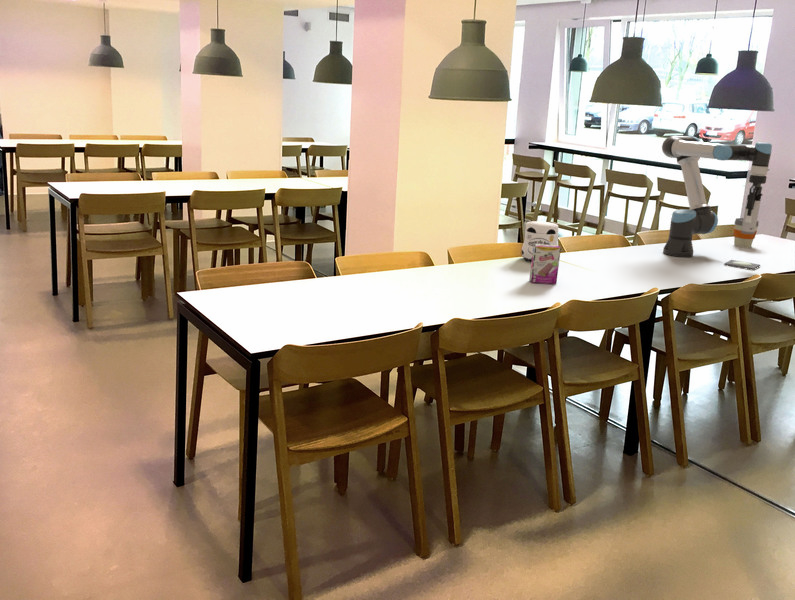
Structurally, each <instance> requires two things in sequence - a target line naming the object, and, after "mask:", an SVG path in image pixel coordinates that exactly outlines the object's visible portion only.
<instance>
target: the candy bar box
mask: <svg viewBox="0 0 795 600" xmlns="http://www.w3.org/2000/svg"><path fill="white" fill-rule="evenodd" d="M561 250H562V249H561V246H560V245H558V244H557V245H544V244H533V252H532V261H530V262H531V264H530V271H529V278H528V280H529V282H530V283H531V284H544V285H546V284H547V285H557V282H558V281H557V280H558V274H559V273H558V272H559V266H560V265H559V264H560V257H561Z"/></svg>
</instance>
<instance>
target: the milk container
mask: <svg viewBox="0 0 795 600" xmlns="http://www.w3.org/2000/svg"><path fill="white" fill-rule="evenodd" d="M558 236H559V225H558V224H557V223H554V222H549V221H539V220H538V221H537V220H534V221H533V220H532V221H527V222H526V224H525V231H524V241H523V243H522V247H521V256H522V258H523V259H524V260H527V261H530V262H531V261H532V252H533V244H544V245H558Z"/></svg>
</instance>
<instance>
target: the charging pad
mask: <svg viewBox="0 0 795 600" xmlns="http://www.w3.org/2000/svg"><path fill="white" fill-rule="evenodd" d="M723 265H724V266H727V265H728V266H729V267H733V266H734V268H738V267H740V268H739V269H744V268H747V269H746V270H750V269H755V268H757V267H758V268H760V267H761V264H757V263H752V262H747V261H741V260H736V259H735V260H734V259H731V260H728V261H725V262H724V264H723ZM759 266H760V267H759ZM758 268H757V269H758ZM755 270H756V269H755Z"/></svg>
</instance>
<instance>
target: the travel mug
mask: <svg viewBox="0 0 795 600" xmlns="http://www.w3.org/2000/svg"><path fill="white" fill-rule="evenodd" d="M762 196H763V193H761V194H760V195H757V196H756V198H755V203H754V207H753V216H752V221H751V223H749V222H745V219H746V214H747V209H746V206H747V202H748V197H749V194H747V196H746V201H745V207H744V213H743V224H742V230H741V233H744V234H755V229H756V223H757V221H758V218H759V211H760V205H761V199H762Z"/></svg>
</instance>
